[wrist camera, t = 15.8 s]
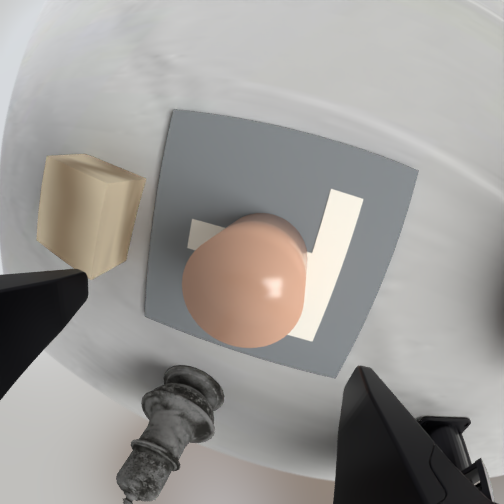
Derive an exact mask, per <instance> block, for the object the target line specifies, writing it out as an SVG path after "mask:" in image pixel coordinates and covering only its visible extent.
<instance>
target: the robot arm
mask: <svg viewBox="0 0 504 504" xmlns="http://www.w3.org/2000/svg"><path fill="white" fill-rule="evenodd" d="M87 298H88V277H87V274H86V273H85V272H84V271H81V270H79V269H67V270H55V271H43V272H30V273H18V274H6V275H0V400H1V399H2V398H3V396H4V395H5V394H6V393H7V391H8V390H9V389H10V388H11V386H12V385H13V384H14V383H15V382H16V380H17V379H18V378H19V377H20V376H21V375H22V373H23V372H24V371H25V370H26V369H27V368H28V366H29V365H30V364H31V363H32V362H33V361H34V360H35V359H36V358H37V357H38V355H39V354H40V353H41V352H42V351H43V350H44V349H45V348H46V347H47V346H48V345H49V343H50V342H51V341H52V340H53V339H54V338H55V337H56V336H57V335H58V334H59V333H60V332H61V331H62V330H63V328H64V327H65V326H66V325H67V324H68V322H69V321H70V320H71V318H72V317H73V316H74V315H75V313H76V312H77V311H78V310H79V309H80V307H81V306H82V305H83V304H84V302H85V301H86V300H87ZM470 424H471V421H470V419H460V418H433V417H426V418H424V419H422V420H421V421H420V422H419V423H418V422H417V421H416V420H415V419H414V417H413V416H412V415H411V414H410V413H409V412H408V410H407V409H406V408H405V407H404V406H403V405H402V403H401V402H400V401H399V400H398V399H397V397H396V396H395V395H394V394H393V393H392V392H391V391H390V389H389V388H388V387H387V386H386V385H385V384H384V382H383V381H382V380H381V379H380V378H379V377H378V375H377V374H376V373H375V372H374V371H373V370H372V369H371V368H370V367H365V366H357V367H356V369H355V370H354V372H353V374H352V375H351V377H350V379H349V380H348V382H347V384H346V386H345V388H344V393H343V401H342V408H341V416H340V422H339V429H338V440H337V461H336V477H335V489H334V501H333V504H497V503H495V501H494V495H493V490H492V486H491V482H490V479H489V475H488V472H487V469H486V467H485V465H484V463H483V461H482V459H481V458H480V459H478V460H476V461H475V463H473V464H472V463H471V460H470V457H469V454H468V451H467V448H466V445H465V442H464V439H463V436H462V433H463V431H464V430H465V429H466V428H467V427H468V426H469V425H470ZM479 480H480V483H478V484H477V485H474V483H476V482H478V481H479Z"/></svg>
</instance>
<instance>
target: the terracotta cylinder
mask: <svg viewBox="0 0 504 504" xmlns="http://www.w3.org/2000/svg"><path fill="white" fill-rule="evenodd" d="M307 261H308V257H307V248H306V245H305V242H304V240H303V238H302V236H301V235H300V233H299V232H298V230H297V229H296V228H295V227H294V226H293V225H292V224H291V223H289V222H288V221H286V220H285V219H283V218H281V217H279V216H276V215H273V214H268V213H254V214H249V215H246V216H244V217H242V218H240V219H238V220H237V221H235V222H234V223H232V224H231V225H229V226H228V227H226V228H225V229H223V230H222V231H221V232H219V233H218V234H216V235H215V236H213V237H212V238H211V239H209V240H208V241H206V242H205V243H203V244H202V245H201V246H199V247H198V248H197V249H196V250H195V251H194V252H193V254H192V255H191V256H190V258H189V260H188V261H187V263H186V266H185V269H184V272H183V277H182V292H183V297H184V301H185V304H186V306H187V309H188V311H189V313H190V314H191V316H192V318H193V319H194V320H195V322H196V323H197V324H198V325H199V326H200V327H201V328H202V329H203V330H204V331H205V332H206V333H208V334H209V335H210V336H212V337H213V338H215V339H217V340H219V341H221V342H223V343H226V344H228V345H232V346H236V347H241V348H258V347H264V346H267V345H270V344H273V343H275V342H277V341H279V340H281V339H282V338H284V337H285V336H286V335H287V334H289V333H290V332H291V330H292V329H293V328H294V327H295V325H296V324H297V322H298V320H299V318H300V316H301V314H302V310H303V305H304V297H305V286H306V274H307Z"/></svg>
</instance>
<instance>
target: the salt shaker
mask: <svg viewBox="0 0 504 504" xmlns="http://www.w3.org/2000/svg"><path fill="white" fill-rule="evenodd" d="M223 402H224V394H223V390H222V389H221V387H220V385H219V384H218V383H217V382H216V381H215V380H214V379H213V378H212V377H211V376H209V375H208V374H207V373H205V372H203V371H201V370H199V369H197V368H193V367H190V366H183V365H180V366H174V367H172V368H170V369H169V370H168V371H167V372H166V373H165V376H164V385H162V386H160V387H158V388H156V389H154V391H151V392H148V393H146V394H145V395H144V396H143V398H142V402H141V404H142V408H143V411H144V413H145V415H146V417H147V418H148V419H149V420H150V421H149V424H148V427H147V428H146V430H145V431H144V432H143V434H142V435H141V437H140V438H139V439H137V440H133V441H132V442H131V447H132V449H133V451H132V453H131V454H130V456H129V457H128V459H127V460H126V462H125V463H124V465H123V466H122V468H121V469H120V471H119V472H118V474H117V477H116V480H117V484H118V485H119V487H120V488H121V490H123V491H124V494H125V495H126V498H125V499H123V500H124V502H123V503H124V504H133V503H132V501H133V500H136V501H138V500H141V501H153V500H155V499H156V498H157V497H158V496H159V494H160V492H161V490H162V488H163V486H164V485H165V483H166V481H167V479H168V477H169V475H170V473H171V471H177V470H179V468H180V463H179V461H178V460H179V458H180V456H181V454H182V452H183V450H184V448H185V446H187V444H188V443H189V442H190V443H201V442H206V441H208V440H209V439H211V438H212V436H213V435H214V431H215V427H214V425H213V424H214V414H213V411H215V410H217V409H218V408H220V407H221V405H222V404H223Z"/></svg>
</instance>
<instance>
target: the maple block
mask: <svg viewBox="0 0 504 504" xmlns="http://www.w3.org/2000/svg"><path fill="white" fill-rule="evenodd" d="M145 182H146V178H144V177H141V176H139V175H136V174H134V173H132V172H129V171H127V170H124V169H122V168H119V167H117V166H114V165H112V164H109V163H107V162H105V161H102V160H100V159H97V158H95V157H92V156H89V155H87V154H70V155H52V156H47V157H46V163H45V168H44V174H43V180H42V187H41V194H40V203H39V212H38V224H37V241H38V242H39V243H41V244H42V245H43V246H45V247H46V248H47V249H48V250H50V251H51V252H52V253H54V254H55V255H56V256H58V257H59V258H60V259H62V260H63V261H65V262H66V263H67V264H69V265H70V266H71V267H73V268H74V269H79V270H81V271H84V272H85V273H86V274H87V277H88V278H89V279H90V280H93V279H94V278H96V277H98V276H100V275H101V274H103V273H105V272H107V271H108V270H110V269H112V268H114V267H116V266H117V265H119V264H121V263H123V262H125V261H126V259H127V254H128V249H129V245H130V240H131V236H132V231H133V227H134V223H135V219H136V215H137V211H138V207H139V203H140V199H141V196H142V192H143V189H144V185H145Z"/></svg>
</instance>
